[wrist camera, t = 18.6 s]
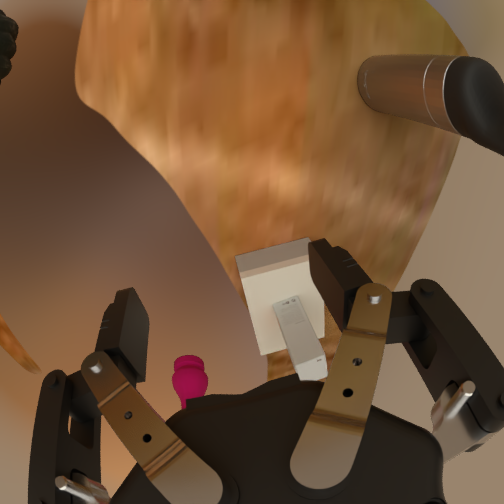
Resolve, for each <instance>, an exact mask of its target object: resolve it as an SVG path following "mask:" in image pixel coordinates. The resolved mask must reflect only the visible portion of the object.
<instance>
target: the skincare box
mask: <svg viewBox="0 0 504 504" xmlns="http://www.w3.org/2000/svg"><path fill="white" fill-rule="evenodd" d="M273 308H274V311H275V314H276V317H277V320H278V323H279V326H280V329H281V332H282V335H283V338H284V341H285V344H286V346H287V349H288V352H289V355H290V357H291V360H292V363H293V366H294V368H295V371H296V373H298V375H299V378H300V380H314V381H316V380H319V379H322V378H324V377H327V375H328V372H327V364H326V358H325V353H324V351H323V348H322V346H321V344H320V342H319V340H318V338H317V336H316V333H315V331H314V329H313V327H312V325H311V323H310V321H309V318H308V316H307V314H306V312H305V310H304V308H303V306H302V304H301V301H300V299H299V297H298V296H295V297H292V298H289V299H287V300H284V301H281V302H278V303H275V304H273Z"/></svg>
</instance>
